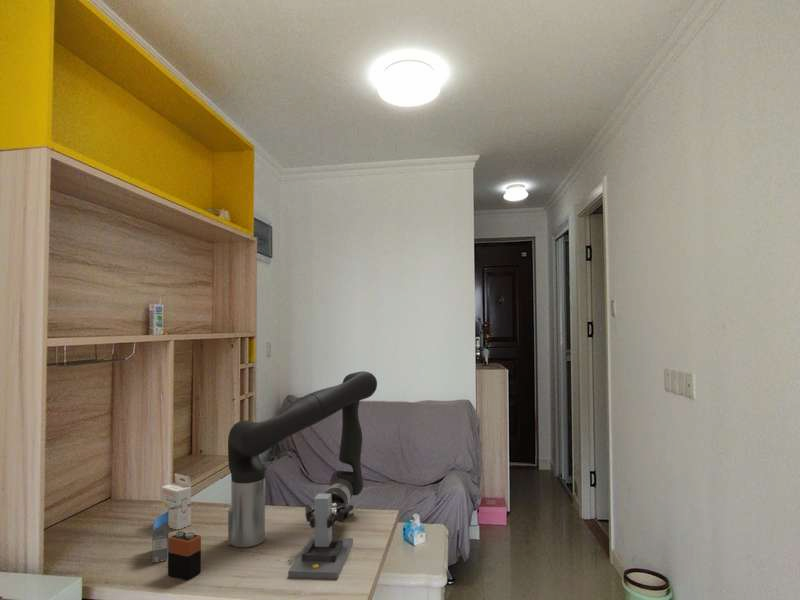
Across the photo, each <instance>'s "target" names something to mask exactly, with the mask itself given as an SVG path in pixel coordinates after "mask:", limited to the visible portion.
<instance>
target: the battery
mask: <svg viewBox="0 0 800 600" xmlns="http://www.w3.org/2000/svg"><path fill="white" fill-rule="evenodd" d="M201 561H202V536H201V535H199V534H195V532H194V531H188V532H184V531H182V530H177V531H176V532H175V534H173V535H172V536H169V538H168V560H167V576H169V575H170V576H169V577H172V576H173V577H172V578H176V577H177V579H180V578H181V579H182V580H184V579H185V580H184V581H189V580H191V579H193V578H194V577H196V576H198V575H199V574H200V573H201V571H202V569H201V565H202V564H201V563H202V562H201ZM192 577H193V578H192Z"/></svg>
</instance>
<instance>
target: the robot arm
mask: <svg viewBox="0 0 800 600" xmlns="http://www.w3.org/2000/svg"><path fill="white" fill-rule="evenodd" d="M377 387H378V380H377V377H376V376H375V375H374V374H373V373H371V372H368V371H357V372H352V373H349V374H347V375H345V377H344V378H343V380H342V383H340V384H336V385H334V386H330V387H326V388H322V389H319V390H316V391H313V392H311V393H308V394H306V395H304V396H301V397H300V398H297V399H296V400H294V401H292V403H290V405H288V406H287V407H286V409H284V410H283V411H282V412H281V413H280V414H277V415H276V416H273V417H271V418H269V419H266V420H263V421H260V422H256V421H252V420H245V419H244V420H240V421H238V422H236V423H235V424H233V425H232V427H231V428H230V430H229V433H228V438H227V457H228V458H227V459H228V460H227V461H228V462H227V463H228V470H229V472H230V476H231V478H230V479H231V480H230V481H231V484H230V485H231V489H230V490H231V493H230V494H231V498H230V501H231V502H230V507H229V509H228V510H227V512H228V515H227V521H228V523H227V526H228V527H227V545H228V546H229V545H231V546H233V547H236V548H251V547H255V546H258V545H260V544H261V543H263V542H264V541H266V540H265V539H266V469H265V466H264V464H263V462H262V461H261V459H260V455H261V454H263V453H266V452H267V451H268V450H270V449H272V448H273V447H274V446H276V445H277V444H279V443H280V442H282V441H284V440H285V439H287V438H289V437H291V436H292V435H296V434H298V433H299V432H301V431H304V430H305V429H307V428H310V427H312V426H314V425H316V424H318V423H319V422H322V421H323V420H325V419H327V418H328V417H330V416H332V415H334V414H336V413H338V412H339V411H340V410H342V411H341V412H342V413H341V414H342V418H341V419H342V424H341V426H342V428H341V438H340V439H341V440H340V446H339V453H338V459H339V461H340V463H343V464H346V465H349V466H350V467H351V468H352V471H347V470H336V471H334V472H333V473H332V474H331V477H330V479H329V481H330V484H329V487H328V488H327V489H326V491H325V492H324V493H323V494H332V514H331V515H330V516H329V518H328V519H327V528H330V527H331V526H332V527H333V526H334V525H335V524H337V522H339V523H344V522H345V521H347V520H349V519H350V518H351V517H353V516H354V505H351V504H350V500H351V499H352V496H358V495H360V493H361V492H362V491H363V488H364V479H363V473H362V464H361V461H362V460H361V459H362V446H363V432H362V427H361V424H360V420H359V406H360V401H362V400H366V399H369V398H370V397H371V396H373V395H374V394H375V392H376V390H377ZM349 504H350V505H349ZM304 506H305V508H304V509H305V514H304V516H305V519H306V522H307V523H308V522H309V526H310V528H312V529H313V528H314V527H315V518H314V506H313V507H312V506H311V505H310V504H306V505H305V504H304Z"/></svg>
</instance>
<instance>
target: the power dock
mask: <svg viewBox="0 0 800 600" xmlns="http://www.w3.org/2000/svg"><path fill="white" fill-rule="evenodd" d="M353 545H354V537H332V541H331V543H330V545H329V547H315V536H310V537H309V538H308V540H307V542H306V543H305V545H304V547H303V548H302V549H301V551H300V553H299V554H298V555H297V557H296V559H295V561H294V562H293V563H292V565H291V566H290V568H289V570H288V573H287V575H288V576H287V577H288V578H289V579H316V580H317V579H319V580H338V579H339V578H340V574H341V572H342V570H343V569H344V565H345V564H346V561H347V559H348V556H349V554H350V552H351V549H352V547H353Z"/></svg>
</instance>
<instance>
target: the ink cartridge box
mask: <svg viewBox="0 0 800 600" xmlns="http://www.w3.org/2000/svg"><path fill="white" fill-rule="evenodd" d="M181 479H183V480H181ZM169 502H170V505H169ZM160 503H161V509H160V510H161V511H160V514H161V515H163V514H164V513H166V512H168V509H169V527H171V528H174V529H177V530H176V531H179V530H178V529H180V530H182V529H185V528H187V526H188V527H190V526H191V524H192V522H191V518H192V514H191V513H192V511H191V510H192V486H191V477H190V476H187V475H182V474H179V473H174V482H173V483H169V484H167V485H162V486H161V502H160ZM161 515H160V516H161ZM189 525H190V526H189ZM184 527H185V528H184ZM171 528H170V529H171ZM181 528H182V529H181ZM174 529H173V530H174Z"/></svg>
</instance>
